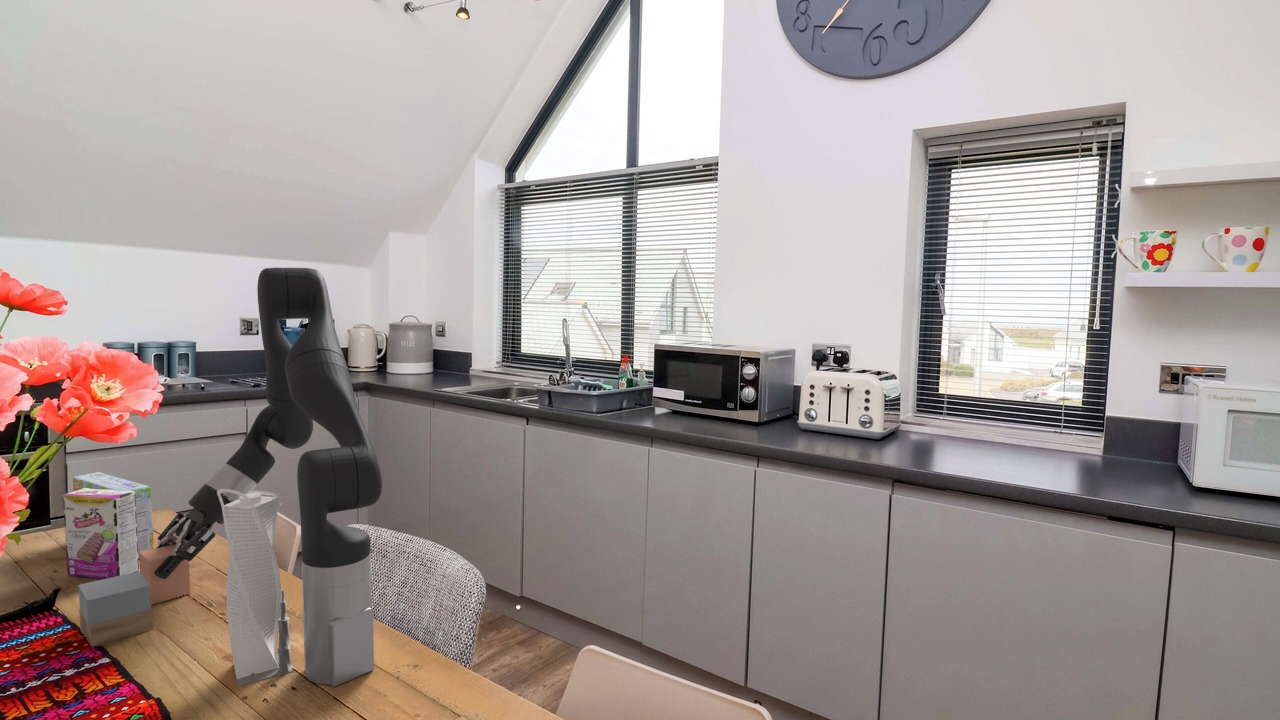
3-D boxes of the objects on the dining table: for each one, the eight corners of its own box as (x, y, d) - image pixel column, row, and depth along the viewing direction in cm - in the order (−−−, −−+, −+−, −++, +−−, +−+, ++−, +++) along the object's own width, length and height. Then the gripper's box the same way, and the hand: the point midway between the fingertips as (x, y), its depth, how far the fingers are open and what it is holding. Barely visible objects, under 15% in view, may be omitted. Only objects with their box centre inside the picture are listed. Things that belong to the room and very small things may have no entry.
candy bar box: (65, 577, 131) (60, 494, 130) (88, 567, 136) (84, 487, 134) (119, 581, 130) (114, 497, 128) (140, 571, 135) (136, 489, 133)
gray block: (150, 609, 111) (149, 585, 111) (88, 625, 105) (86, 600, 105) (139, 594, 117) (138, 571, 116) (79, 608, 111) (78, 585, 111)
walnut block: (153, 631, 112) (152, 607, 112) (92, 649, 106) (90, 624, 106) (139, 615, 117) (138, 593, 117) (80, 632, 111) (79, 608, 111)
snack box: (74, 544, 148) (70, 476, 147) (104, 536, 153) (101, 470, 152) (126, 564, 138) (123, 491, 137) (157, 555, 143) (153, 484, 142)
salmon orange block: (190, 593, 125) (188, 551, 124) (151, 604, 121) (149, 560, 120) (179, 584, 129) (177, 543, 128) (141, 594, 124) (139, 552, 124)
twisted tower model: (226, 691, 96) (219, 496, 93) (221, 666, 102) (214, 483, 100) (293, 673, 101) (288, 487, 98) (284, 649, 107) (279, 475, 105)
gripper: (194, 475, 133) (123, 551, 125) (222, 490, 124) (147, 572, 116) (225, 496, 138) (158, 570, 130) (254, 511, 129) (184, 592, 121)
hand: (153, 571), depth 123 cm, fingers closed on salmon orange block, 6 cm apart
